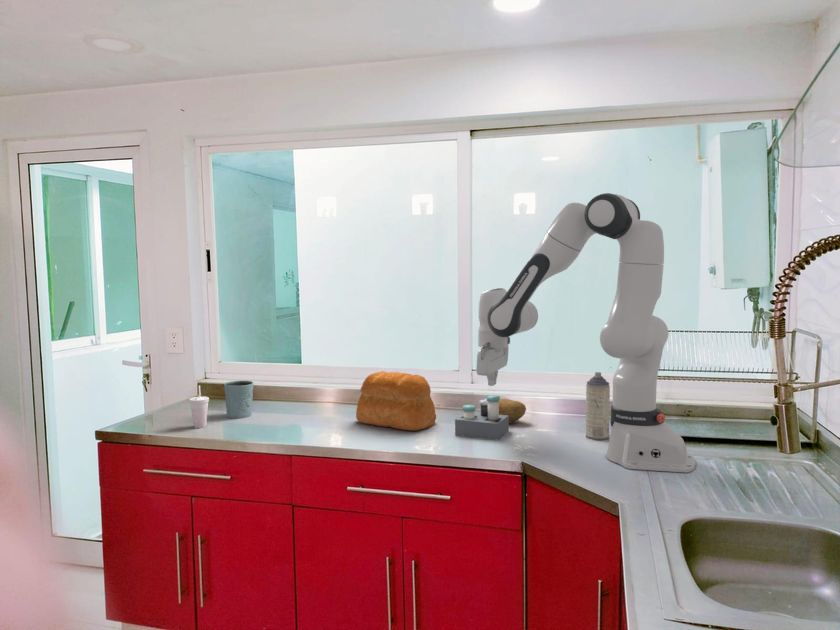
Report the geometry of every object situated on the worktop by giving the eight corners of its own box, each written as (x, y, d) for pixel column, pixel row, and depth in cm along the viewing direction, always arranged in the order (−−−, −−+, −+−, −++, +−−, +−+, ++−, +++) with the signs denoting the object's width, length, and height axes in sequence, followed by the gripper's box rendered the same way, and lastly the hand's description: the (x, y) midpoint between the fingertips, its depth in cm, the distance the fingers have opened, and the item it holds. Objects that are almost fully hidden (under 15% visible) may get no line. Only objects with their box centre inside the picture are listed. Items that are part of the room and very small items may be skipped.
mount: (508, 430, 190) (508, 400, 189) (498, 440, 180) (498, 408, 179) (467, 426, 196) (467, 396, 195) (455, 435, 186) (454, 404, 185)
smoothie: (213, 424, 203) (211, 383, 202) (205, 429, 196) (203, 387, 195) (195, 424, 203) (193, 383, 202) (186, 429, 197) (184, 387, 196)
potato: (520, 428, 193) (520, 404, 192) (480, 423, 200) (480, 399, 199) (530, 421, 201) (530, 398, 201) (491, 416, 208) (491, 394, 208)
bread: (416, 434, 188) (415, 380, 187) (351, 423, 202) (350, 373, 200) (441, 422, 201) (440, 372, 200) (378, 413, 215) (377, 366, 214)
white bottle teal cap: (501, 418, 186) (501, 395, 185) (497, 421, 182) (497, 398, 182) (489, 417, 187) (489, 394, 187) (485, 420, 184) (484, 397, 183)
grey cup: (223, 414, 217) (222, 381, 216) (252, 411, 221) (251, 379, 220) (227, 420, 208) (226, 386, 207) (256, 417, 212) (255, 384, 211)
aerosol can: (613, 439, 179) (614, 373, 177) (593, 441, 177) (593, 375, 176) (601, 433, 186) (601, 370, 184) (581, 435, 184) (582, 371, 182)
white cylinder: (477, 427, 189) (477, 405, 189) (472, 430, 186) (472, 408, 185) (465, 426, 191) (465, 404, 191) (461, 429, 188) (460, 407, 187)
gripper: (491, 345, 172) (491, 392, 173) (511, 337, 191) (511, 379, 192) (471, 344, 175) (471, 390, 176) (493, 336, 193) (492, 378, 194)
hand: (492, 385), depth 184 cm, fingers closed
